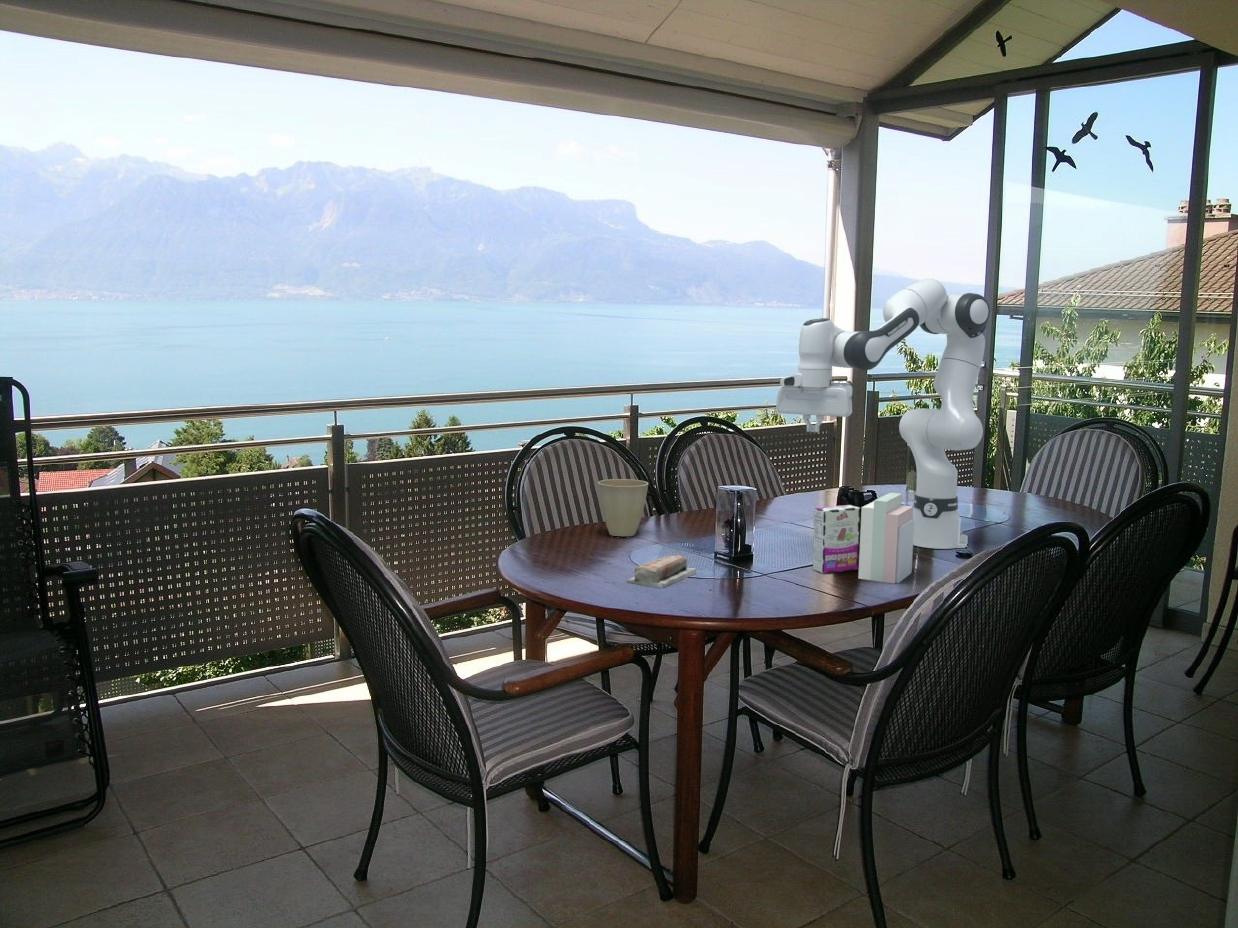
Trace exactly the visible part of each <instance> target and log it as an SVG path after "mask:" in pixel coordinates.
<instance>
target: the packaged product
mask: <svg viewBox="0 0 1238 928" xmlns="http://www.w3.org/2000/svg"><path fill="white" fill-rule="evenodd" d="M696 573H697V568H694V567H688V558H687V557H685V556H683V555H679V554H678V555H668V556H667V555H666V556H663V557H661V558H658V559H655V560H653V561H649V562H647V563H643V564H641V565H639V566H636V567H635V568H634V576H633V577H631V578H628V579H627V580H626V583H627V584H632V585H633V584H634V585H639V586H644V587H645V586H646V587H652V588H655V589H657V588H658V589H664V588H666V587H668V586H671V585H673V584H675V583H678V582H681V581H683V580H684V579H687V578H690V577H691V576H693V575H695V574H696Z"/></svg>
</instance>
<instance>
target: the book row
mask: <svg viewBox="0 0 1238 928" xmlns="http://www.w3.org/2000/svg"><path fill="white" fill-rule="evenodd" d="M902 501H903V493H897V492H888V493H887V494H885V495H882V496H880V497H877V498H876V499H875V500H873V501H872V502H869V503H868V504H865V505H864V506H861V510H860V511H861V512H860V532H859V557H858V576H857V577H858V579H859V580H860V579H861V580H864V581H865V580H866V581H873V582H880V583H887V584H893V585H895V584H900V582H902V581H904V580H905V579H906V578H907V577H908V576H910V575H911V574H912V571H913V570H912V567H913V552H914V551H913V550H914V545H913V535H914V519H913V509H914V505H913V506H912V505H902V504H903V503H902Z"/></svg>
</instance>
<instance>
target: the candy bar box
mask: <svg viewBox="0 0 1238 928" xmlns="http://www.w3.org/2000/svg"><path fill="white" fill-rule="evenodd" d="M860 511H861V507H859V506H856V505H852V504H845V505H833V506H822V507H814V508H813V546H812V547H813V548H812V551H813V552H812V570H813V571H814V572H817V573H820V574H823V575H824V574H832V573H834V574H835V573H841V572H843V573H844V572H850V571H859V554H860V522H861V512H860Z"/></svg>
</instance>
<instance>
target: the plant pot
mask: <svg viewBox="0 0 1238 928" xmlns="http://www.w3.org/2000/svg"><path fill="white" fill-rule="evenodd" d="M597 484H598V492H599V501H600V505H601V509H602V510H601V511H602V513H603V519H604V522H605V524H606V528H607V531H608V534H609V536H610V535H613V536H632V535H634V534H635V535H636V533H637V530H638V528H639V525H640V522H641V519H642V516H643V512H644V509H645V504H646V498H647V493H648V487H649V482H648V481H645V480H639V479H632V478H631V479H630V478H629V479H625V478H621V479H620V478H614V479H613V478H610V479H603V480H599V481H598V482H597ZM635 535H634V536H635ZM613 536H612V537H613Z"/></svg>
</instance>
